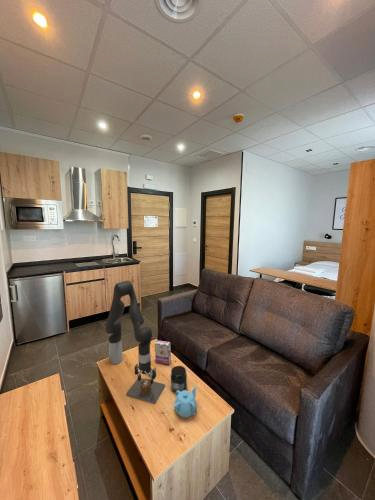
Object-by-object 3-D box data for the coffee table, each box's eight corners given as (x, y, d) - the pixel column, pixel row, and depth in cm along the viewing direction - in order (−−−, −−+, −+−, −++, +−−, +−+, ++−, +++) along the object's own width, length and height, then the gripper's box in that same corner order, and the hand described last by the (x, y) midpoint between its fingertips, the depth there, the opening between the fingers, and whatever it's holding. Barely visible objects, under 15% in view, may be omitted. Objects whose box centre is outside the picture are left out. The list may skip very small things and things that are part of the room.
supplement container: (183, 379, 143) (183, 363, 141) (189, 390, 133) (189, 373, 132) (168, 383, 139) (168, 367, 138) (173, 396, 130) (173, 378, 128)
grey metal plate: (126, 395, 131) (125, 386, 130) (138, 379, 144) (137, 370, 143) (155, 404, 124) (154, 394, 123) (165, 386, 137) (164, 377, 136)
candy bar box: (171, 361, 161) (170, 341, 159) (168, 365, 156) (168, 345, 154) (158, 359, 165) (157, 339, 162) (155, 363, 160) (154, 343, 157)
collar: (139, 391, 132) (138, 384, 131) (144, 383, 138) (143, 377, 137) (148, 393, 130) (147, 387, 129) (152, 386, 136) (152, 379, 135)
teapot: (172, 420, 114) (172, 403, 112) (176, 397, 128) (176, 382, 126) (195, 422, 113) (195, 405, 111) (197, 399, 127) (197, 383, 125)
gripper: (131, 360, 130) (132, 383, 132) (152, 365, 125) (152, 389, 127) (137, 352, 137) (139, 375, 139) (157, 357, 132) (158, 380, 134)
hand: (145, 382), depth 133 cm, fingers open, 8 cm apart
